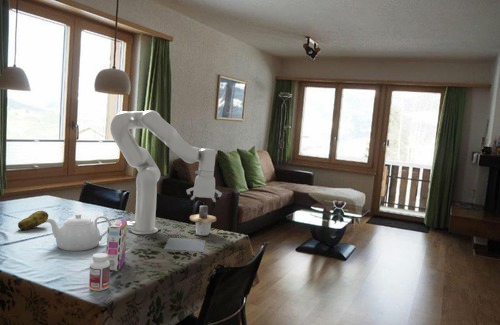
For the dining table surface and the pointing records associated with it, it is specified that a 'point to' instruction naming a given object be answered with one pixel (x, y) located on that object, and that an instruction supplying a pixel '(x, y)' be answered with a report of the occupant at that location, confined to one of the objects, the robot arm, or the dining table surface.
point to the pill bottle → (99, 272)
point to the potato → (33, 220)
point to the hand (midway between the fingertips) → (202, 208)
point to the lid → (203, 216)
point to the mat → (185, 244)
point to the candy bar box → (116, 244)
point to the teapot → (77, 233)
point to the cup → (203, 228)
